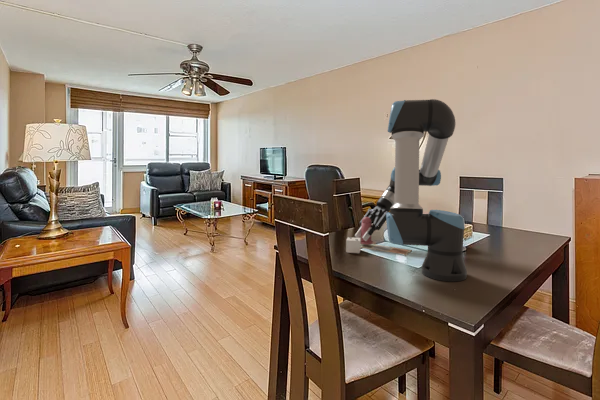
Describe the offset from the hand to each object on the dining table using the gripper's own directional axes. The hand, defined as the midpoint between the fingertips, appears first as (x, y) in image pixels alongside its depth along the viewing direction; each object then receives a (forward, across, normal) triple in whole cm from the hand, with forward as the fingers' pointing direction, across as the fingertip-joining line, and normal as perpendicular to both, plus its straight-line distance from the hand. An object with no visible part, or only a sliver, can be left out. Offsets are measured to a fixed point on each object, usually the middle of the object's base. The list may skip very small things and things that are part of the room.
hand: (360, 238), depth 156 cm
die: (+9, -4, +2) cm, 10 cm away
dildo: (-1, 0, -5) cm, 5 cm away
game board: (-2, -7, -8) cm, 11 cm away
